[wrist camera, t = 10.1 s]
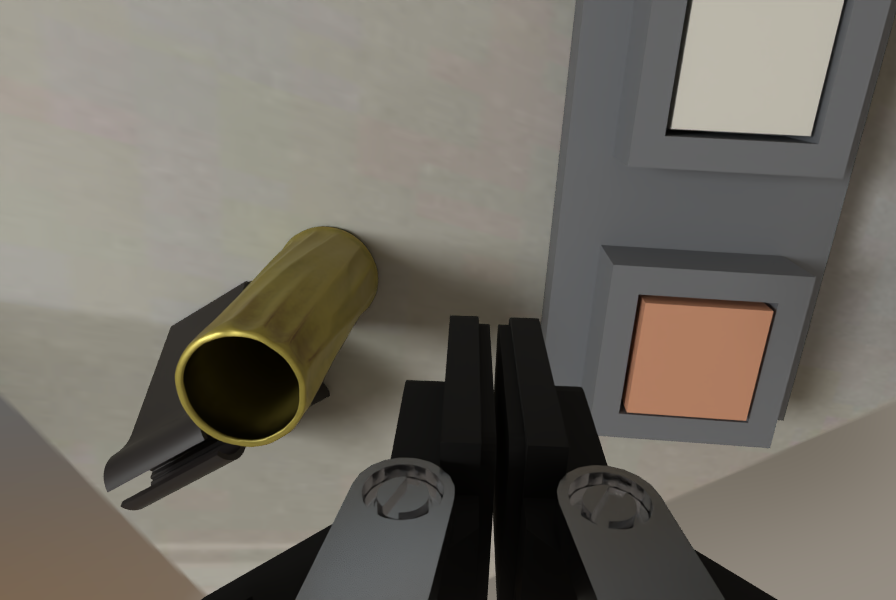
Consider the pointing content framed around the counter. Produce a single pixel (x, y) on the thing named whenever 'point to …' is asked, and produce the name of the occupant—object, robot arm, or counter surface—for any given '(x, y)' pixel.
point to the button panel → (691, 209)
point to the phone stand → (174, 423)
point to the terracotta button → (695, 356)
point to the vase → (277, 339)
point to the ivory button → (753, 65)
